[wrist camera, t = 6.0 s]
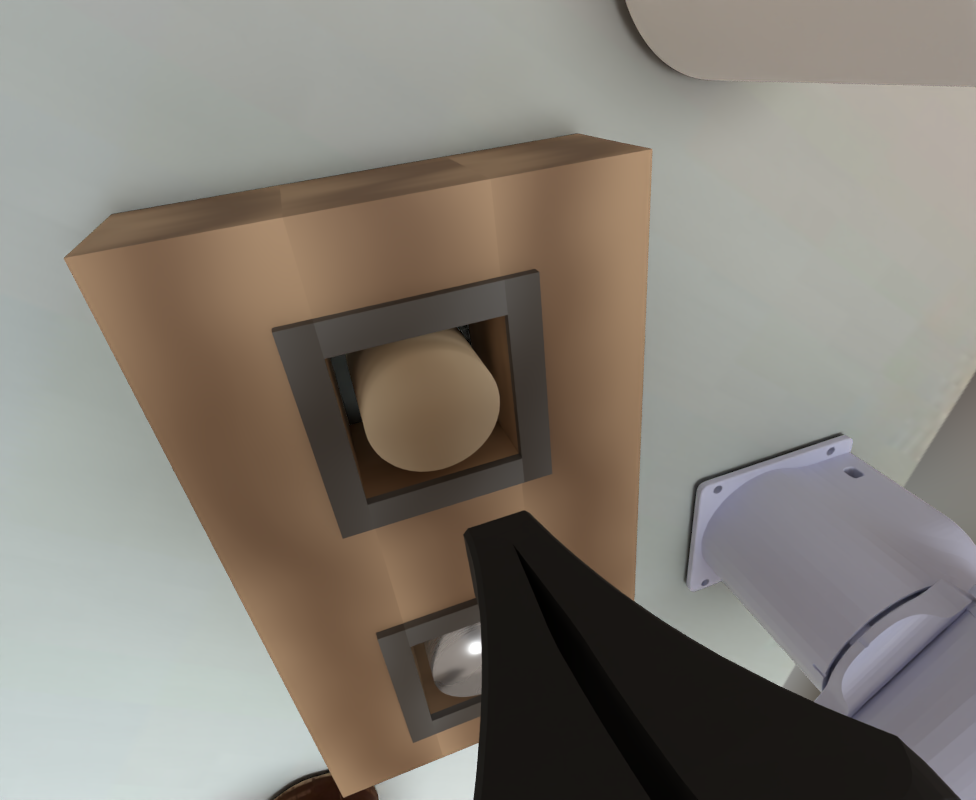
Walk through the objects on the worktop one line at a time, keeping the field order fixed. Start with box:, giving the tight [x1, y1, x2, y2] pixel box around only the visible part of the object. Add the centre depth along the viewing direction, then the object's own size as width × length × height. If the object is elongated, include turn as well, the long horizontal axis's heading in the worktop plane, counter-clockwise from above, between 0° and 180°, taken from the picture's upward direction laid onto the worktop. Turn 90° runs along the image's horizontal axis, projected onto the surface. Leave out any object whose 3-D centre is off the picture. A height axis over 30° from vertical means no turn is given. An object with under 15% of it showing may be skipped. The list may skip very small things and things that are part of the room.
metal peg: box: [424, 622, 482, 697], centre depth 25 cm, size 4×4×4 cm
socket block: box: [64, 134, 652, 798], centre depth 21 cm, size 14×24×5 cm, turn 6°
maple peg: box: [346, 327, 500, 472], centre depth 18 cm, size 4×4×4 cm
